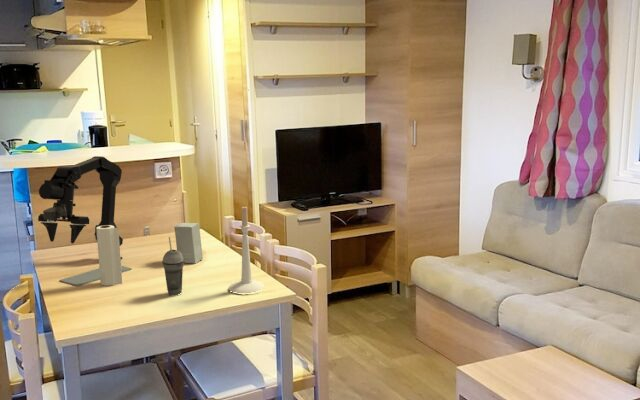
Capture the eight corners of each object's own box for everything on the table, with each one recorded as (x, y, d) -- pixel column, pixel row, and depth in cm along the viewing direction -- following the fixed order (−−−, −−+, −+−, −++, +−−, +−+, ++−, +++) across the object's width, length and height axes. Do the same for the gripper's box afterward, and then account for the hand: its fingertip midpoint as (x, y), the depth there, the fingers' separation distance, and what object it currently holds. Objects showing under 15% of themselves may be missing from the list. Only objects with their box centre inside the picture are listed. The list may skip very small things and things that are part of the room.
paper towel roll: (97, 283, 217) (93, 226, 213) (113, 279, 221) (109, 223, 217) (106, 288, 212) (101, 229, 208) (122, 284, 216) (118, 227, 212)
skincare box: (203, 260, 246) (201, 222, 243) (194, 264, 240) (192, 226, 237) (185, 258, 249) (183, 221, 246) (175, 263, 242) (173, 225, 239)
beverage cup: (174, 298, 201) (171, 241, 197) (159, 294, 205) (156, 238, 201) (190, 292, 207) (187, 236, 203) (175, 288, 211) (172, 234, 207)
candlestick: (224, 285, 214) (221, 203, 208) (259, 281, 218) (257, 201, 213) (233, 297, 202) (230, 210, 197) (269, 292, 207) (267, 207, 201)
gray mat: (113, 265, 240) (113, 264, 240) (131, 269, 234) (131, 268, 234) (59, 281, 220) (59, 280, 220) (78, 286, 214) (77, 285, 214)
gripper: (28, 198, 215) (25, 241, 215) (70, 200, 210) (67, 245, 209) (50, 199, 226) (47, 240, 226) (91, 202, 220) (88, 244, 220)
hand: (62, 242), depth 220 cm, fingers open, 9 cm apart
